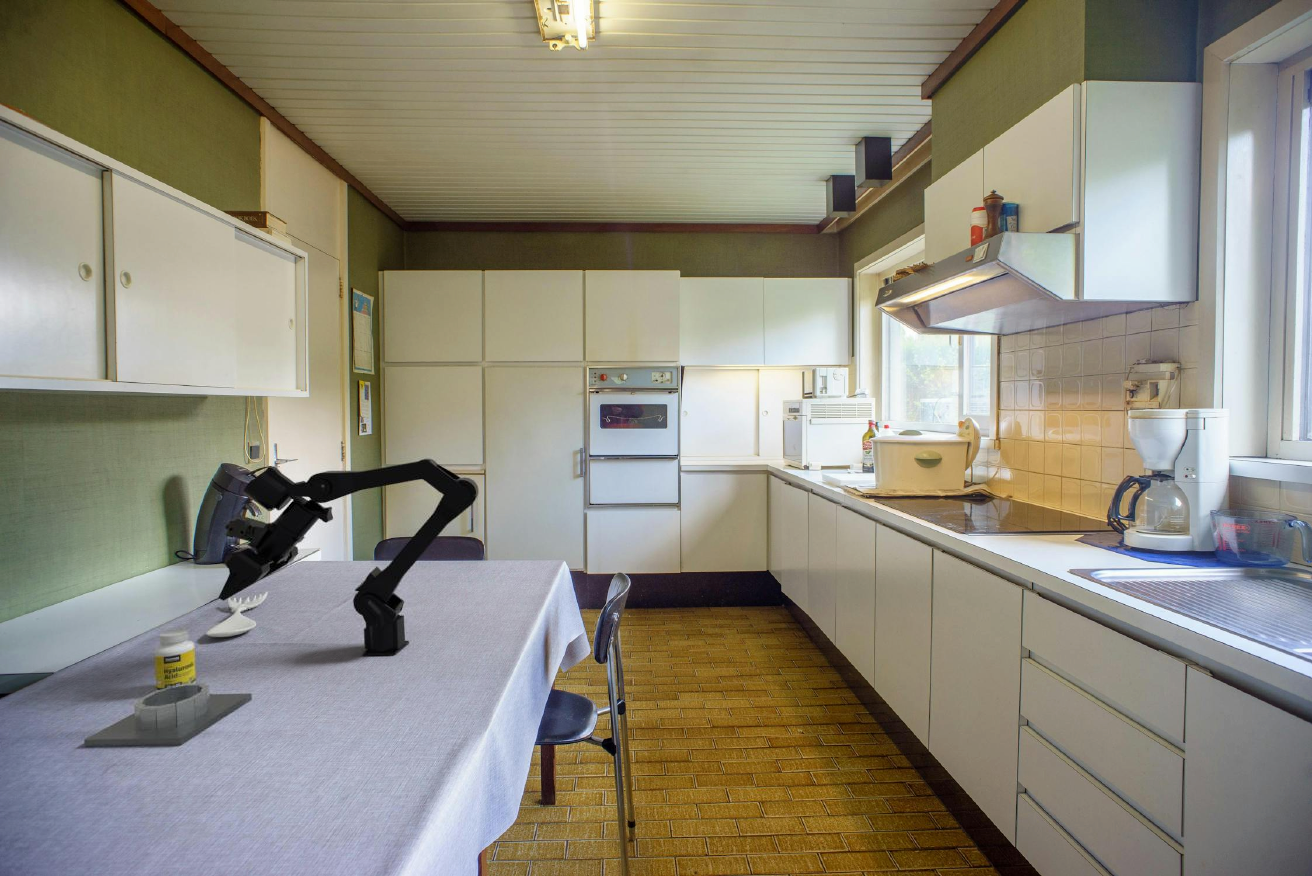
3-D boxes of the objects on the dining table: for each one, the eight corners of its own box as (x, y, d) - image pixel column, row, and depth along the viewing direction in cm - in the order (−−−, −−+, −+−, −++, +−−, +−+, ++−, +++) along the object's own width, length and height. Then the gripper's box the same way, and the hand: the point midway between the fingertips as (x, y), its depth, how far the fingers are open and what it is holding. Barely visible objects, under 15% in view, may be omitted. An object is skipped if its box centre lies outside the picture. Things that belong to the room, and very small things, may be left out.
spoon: (269, 602, 157) (268, 589, 157) (253, 639, 129) (252, 623, 128) (227, 608, 153) (226, 594, 153) (201, 647, 124) (200, 631, 124)
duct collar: (251, 699, 98) (250, 675, 98) (180, 745, 84) (179, 717, 84) (168, 700, 99) (167, 676, 99) (84, 746, 85) (83, 718, 85)
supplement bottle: (161, 697, 100) (158, 639, 100) (152, 690, 103) (149, 633, 103) (200, 686, 104) (197, 629, 104) (190, 678, 108) (187, 624, 107)
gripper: (274, 495, 122) (219, 556, 120) (231, 506, 104) (165, 579, 102) (320, 528, 124) (267, 589, 122) (286, 545, 106) (223, 617, 104)
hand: (233, 592), depth 113 cm, fingers open, 9 cm apart
